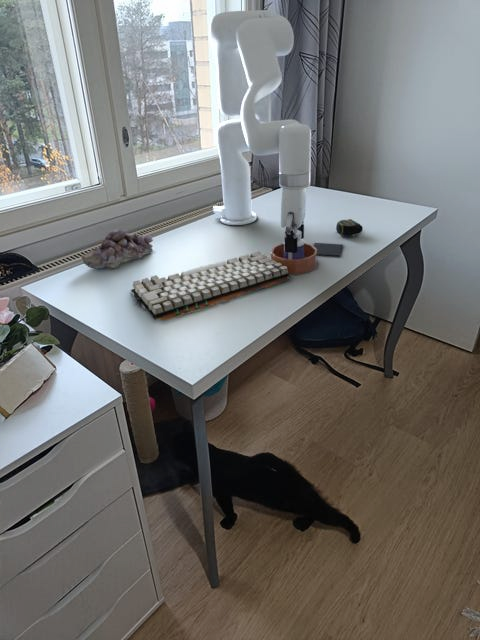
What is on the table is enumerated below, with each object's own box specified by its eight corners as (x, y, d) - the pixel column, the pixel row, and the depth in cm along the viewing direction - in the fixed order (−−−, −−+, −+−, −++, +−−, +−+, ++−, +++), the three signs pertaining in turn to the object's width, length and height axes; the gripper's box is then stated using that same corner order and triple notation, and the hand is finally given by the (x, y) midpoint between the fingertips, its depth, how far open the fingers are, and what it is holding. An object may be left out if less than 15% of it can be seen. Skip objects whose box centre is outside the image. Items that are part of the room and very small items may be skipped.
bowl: (267, 272, 119) (266, 258, 117) (276, 254, 128) (276, 241, 126) (312, 275, 116) (313, 261, 113) (319, 256, 125) (319, 243, 123)
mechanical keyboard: (254, 255, 128) (254, 244, 126) (294, 279, 114) (294, 267, 112) (128, 293, 113) (125, 281, 111) (155, 327, 99) (152, 314, 97)
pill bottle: (306, 260, 123) (306, 229, 118) (300, 268, 119) (300, 236, 114) (287, 258, 125) (287, 227, 120) (281, 266, 121) (281, 234, 116)
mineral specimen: (131, 228, 137) (138, 210, 129) (153, 253, 138) (162, 237, 129) (77, 262, 126) (81, 245, 118) (101, 289, 127) (107, 273, 118)
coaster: (310, 254, 127) (310, 253, 126) (314, 244, 133) (314, 242, 133) (339, 256, 125) (339, 255, 124) (342, 245, 131) (342, 244, 131)
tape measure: (363, 236, 136) (364, 224, 134) (342, 239, 135) (343, 227, 133) (351, 228, 142) (352, 217, 140) (331, 232, 140) (332, 220, 138)
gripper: (286, 170, 118) (287, 233, 127) (271, 188, 104) (273, 257, 113) (315, 170, 116) (313, 234, 125) (304, 189, 102) (303, 259, 111)
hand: (294, 245), depth 119 cm, fingers open, 9 cm apart
